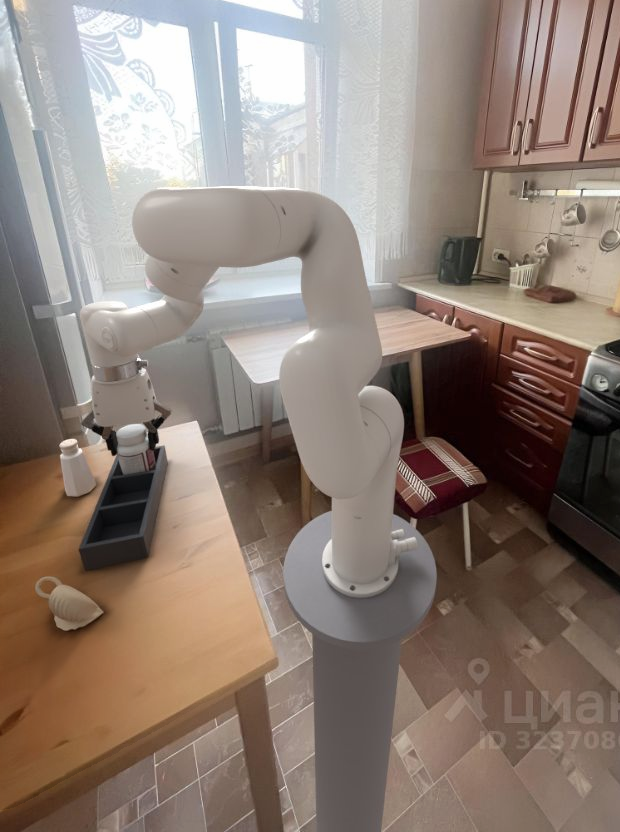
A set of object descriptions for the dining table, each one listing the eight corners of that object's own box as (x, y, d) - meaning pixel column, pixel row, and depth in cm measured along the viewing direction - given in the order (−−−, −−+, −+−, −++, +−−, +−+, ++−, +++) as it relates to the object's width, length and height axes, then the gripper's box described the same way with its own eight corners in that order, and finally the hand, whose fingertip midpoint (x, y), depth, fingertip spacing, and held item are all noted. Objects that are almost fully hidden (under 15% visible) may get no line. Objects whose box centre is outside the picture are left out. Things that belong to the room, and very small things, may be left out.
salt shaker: (86, 476, 83) (73, 431, 79) (103, 483, 81) (91, 438, 77) (58, 492, 78) (44, 445, 74) (75, 500, 76) (61, 453, 72)
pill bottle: (146, 463, 86) (137, 418, 82) (163, 474, 83) (154, 428, 79) (118, 479, 81) (106, 432, 77) (134, 490, 78) (123, 443, 74)
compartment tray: (167, 462, 88) (164, 445, 86) (148, 557, 65) (143, 536, 63) (121, 469, 85) (117, 452, 83) (84, 570, 62) (78, 549, 61)
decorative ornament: (75, 640, 53) (65, 613, 51) (39, 612, 56) (28, 586, 54) (104, 613, 56) (96, 587, 54) (69, 588, 60) (60, 563, 58)
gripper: (170, 356, 79) (183, 432, 85) (70, 365, 74) (91, 445, 80) (165, 371, 72) (179, 453, 79) (54, 382, 67) (79, 468, 74)
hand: (135, 448), depth 79 cm, fingers closed on pill bottle, 6 cm apart
